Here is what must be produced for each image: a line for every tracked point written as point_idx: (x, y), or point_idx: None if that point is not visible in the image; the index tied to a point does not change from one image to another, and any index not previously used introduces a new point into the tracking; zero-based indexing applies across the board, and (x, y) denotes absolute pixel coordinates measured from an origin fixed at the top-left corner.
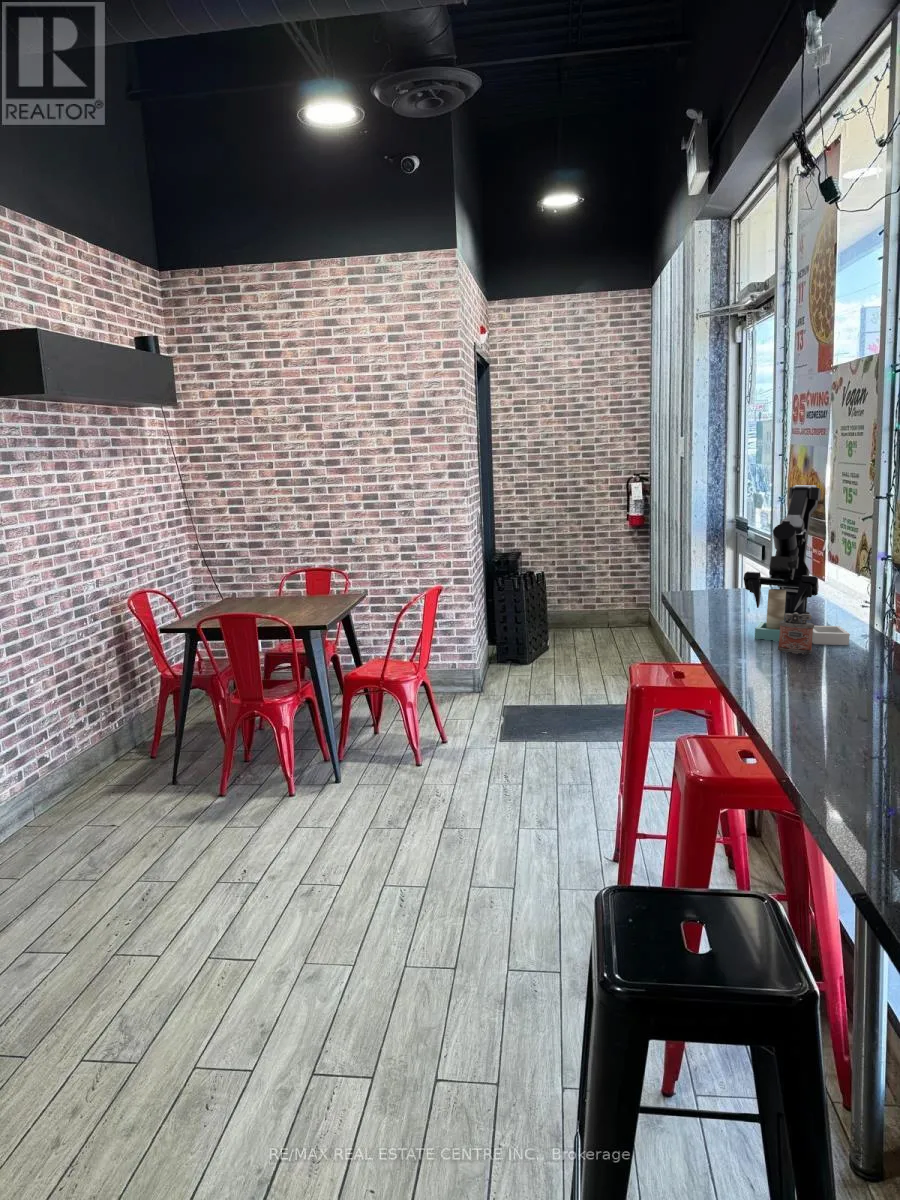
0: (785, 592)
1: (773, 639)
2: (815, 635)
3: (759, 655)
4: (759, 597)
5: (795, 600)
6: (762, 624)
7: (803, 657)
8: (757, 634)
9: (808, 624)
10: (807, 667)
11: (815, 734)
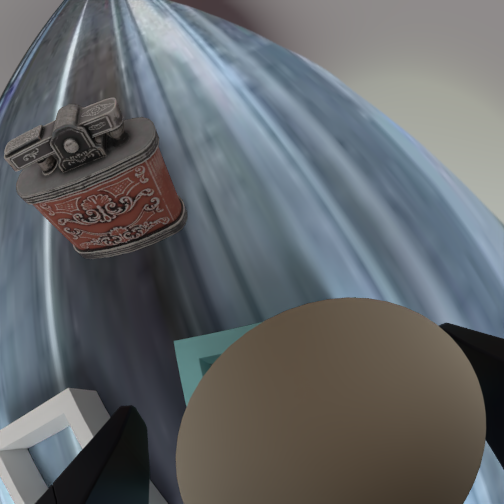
0: (181, 463)
1: None
2: (72, 389)
3: (215, 125)
4: (500, 402)
5: (98, 465)
6: None
7: None
8: None
9: (35, 166)
10: None
11: (90, 7)
